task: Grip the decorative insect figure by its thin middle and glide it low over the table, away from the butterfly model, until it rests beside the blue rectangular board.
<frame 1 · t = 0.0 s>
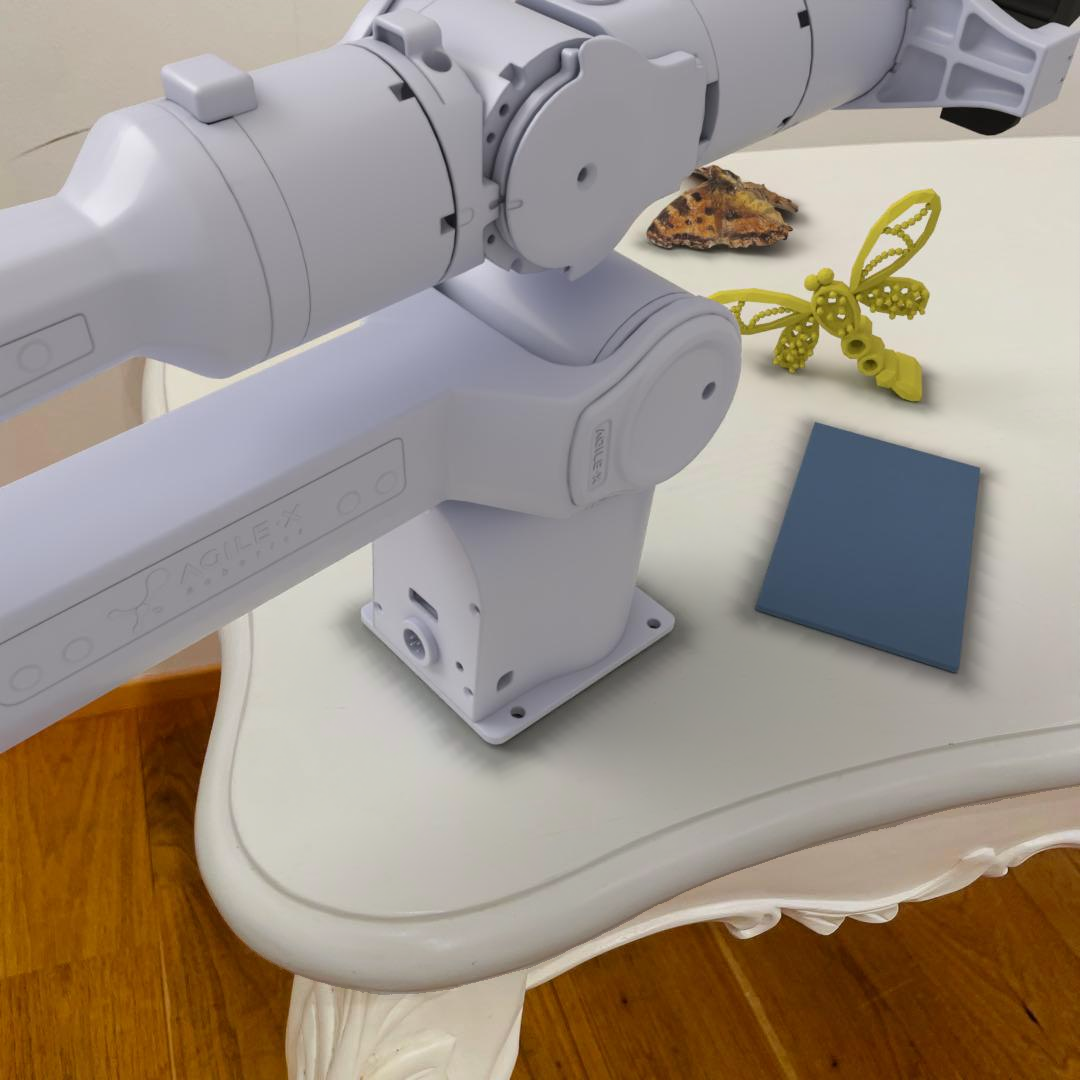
decorative insect: (801, 368, 59), on the table
butterfly model: (722, 221, 71), on the table
blue rectangular board: (876, 535, 48), on the table
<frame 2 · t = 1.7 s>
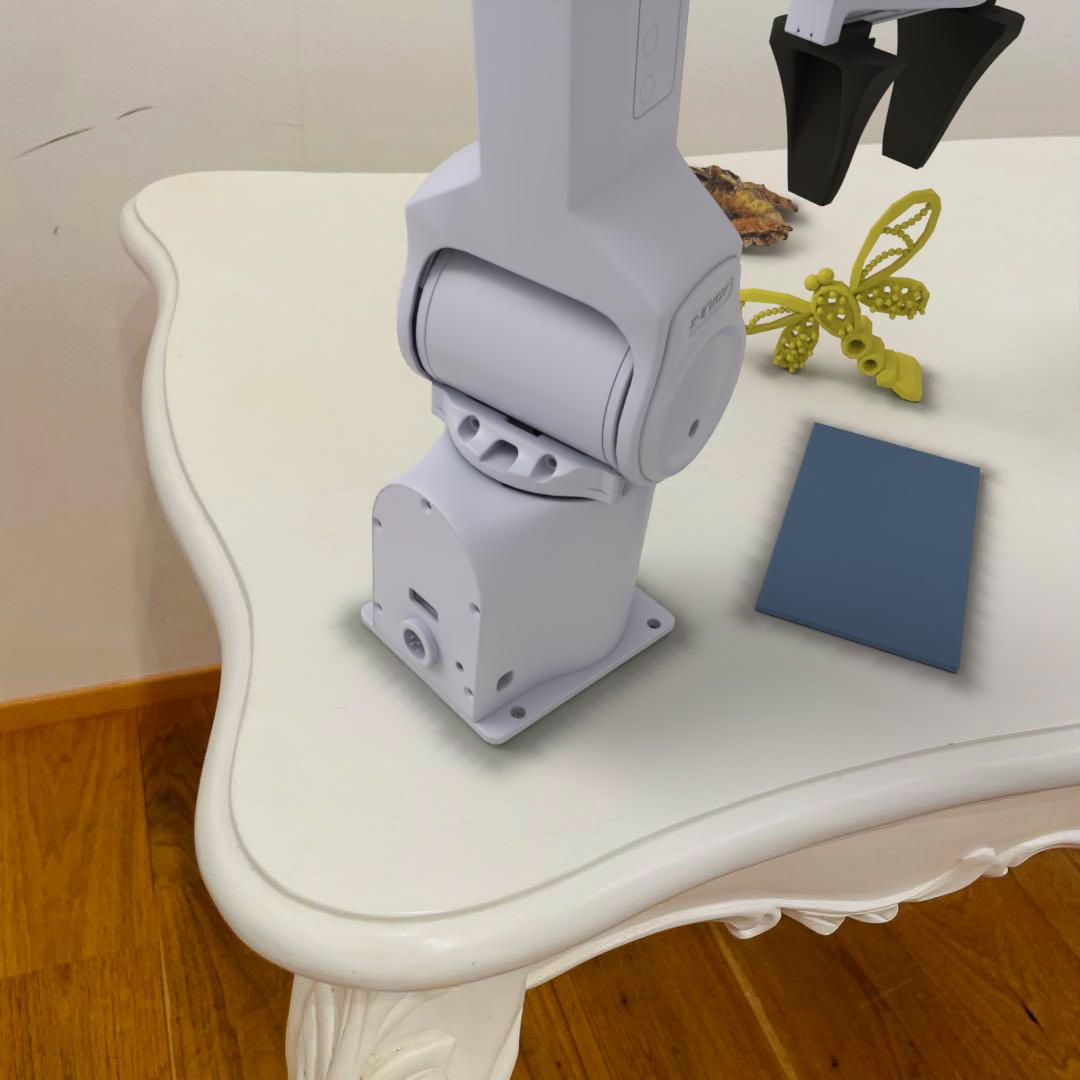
hand: (857, 178, 52), 10 cm above the table, tool pointing down, fingers open, 7 cm apart
nothing on the table moved.
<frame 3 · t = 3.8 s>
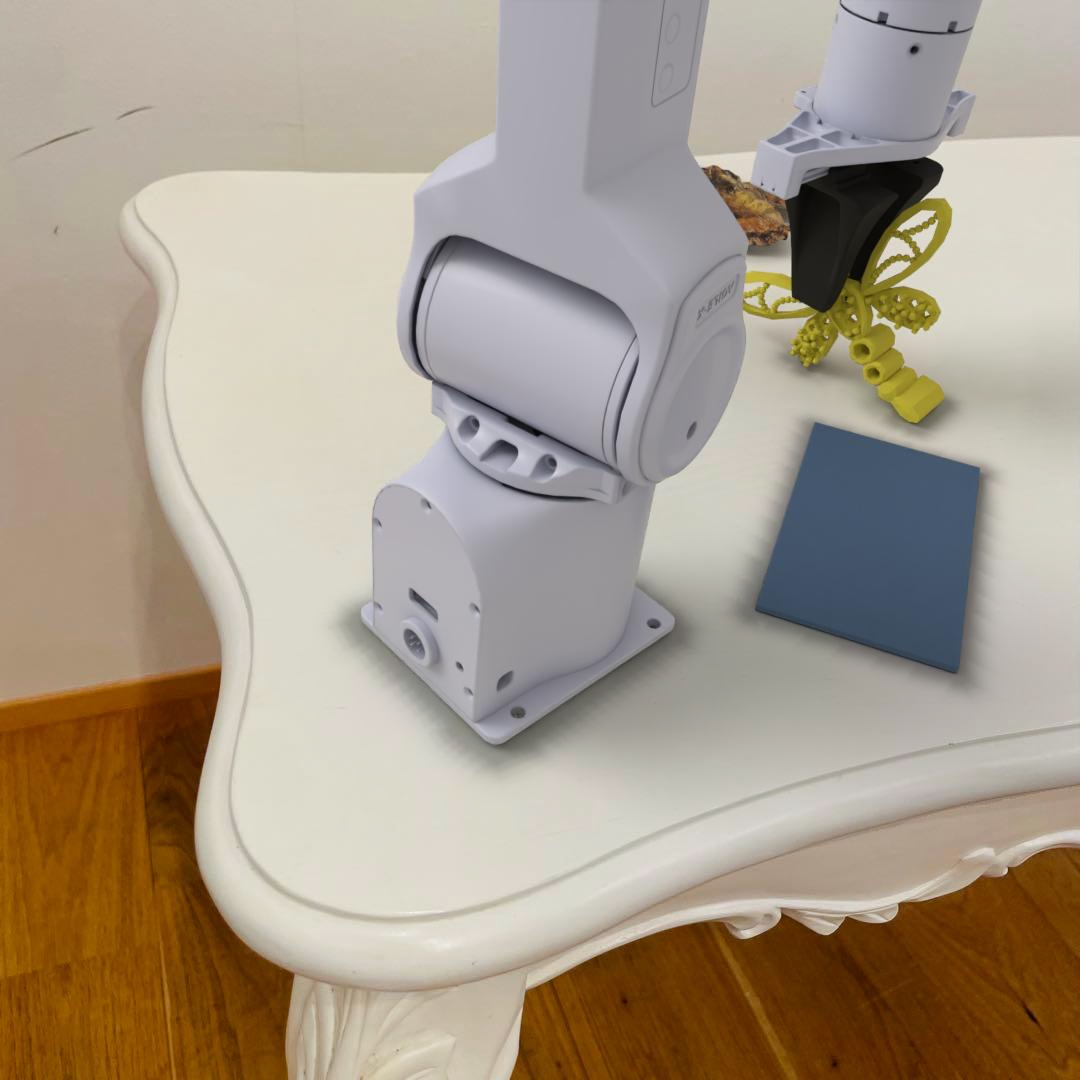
hand: (822, 297, 56), 4 cm above the table, tool pointing down, fingers closed on decorative insect
decorative insect: (823, 367, 59), on the table, touching gripper
everything else where it was.
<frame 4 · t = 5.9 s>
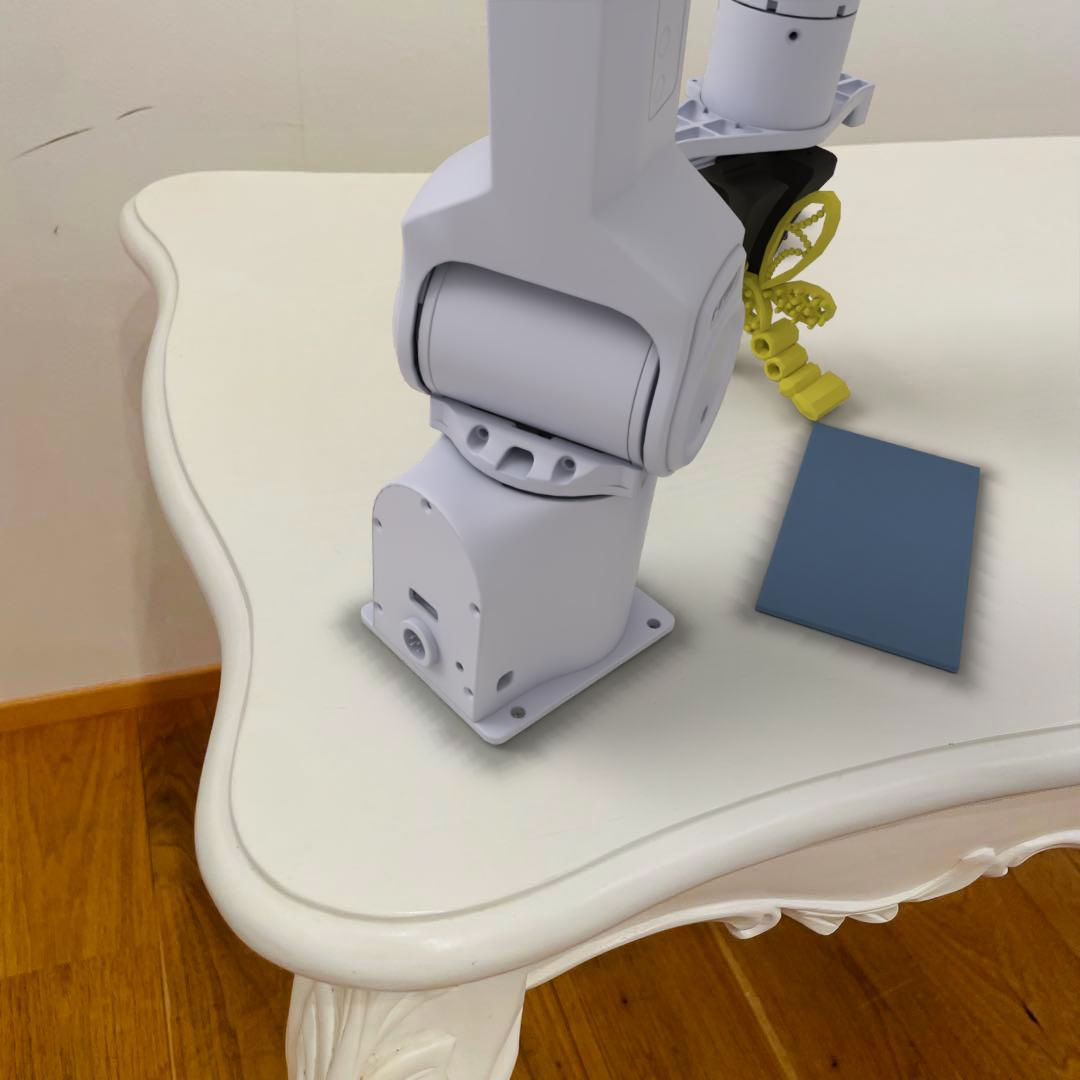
hand: (722, 291, 55), 4 cm above the table, tool pointing down, fingers closed on decorative insect
decorative insect: (731, 362, 58), on the table, touching gripper
everything else where it was.
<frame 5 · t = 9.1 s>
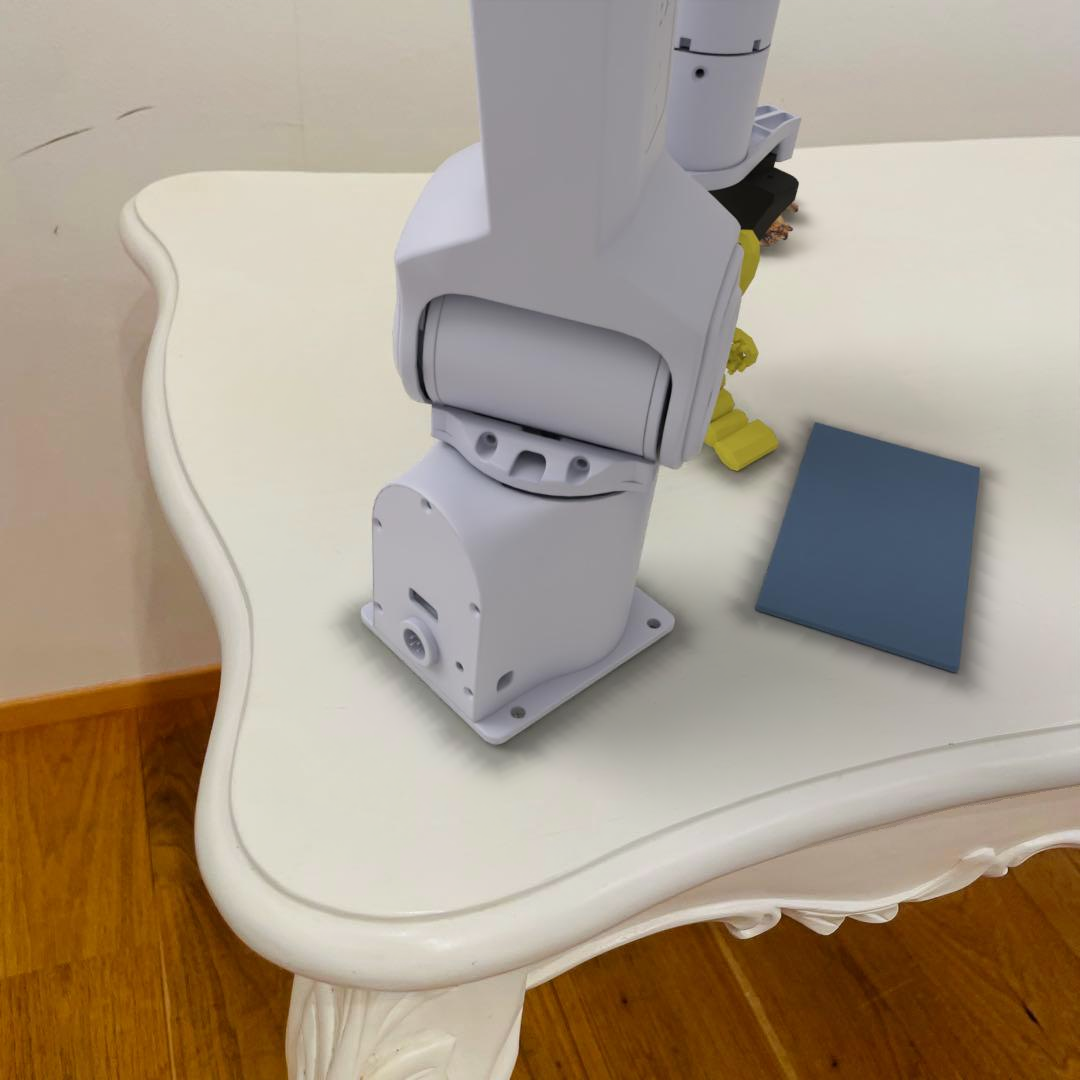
hand: (644, 333, 52), 4 cm above the table, tool pointing down, fingers open, 7 cm apart
decorative insect: (659, 405, 55), on the table
everything else where it was.
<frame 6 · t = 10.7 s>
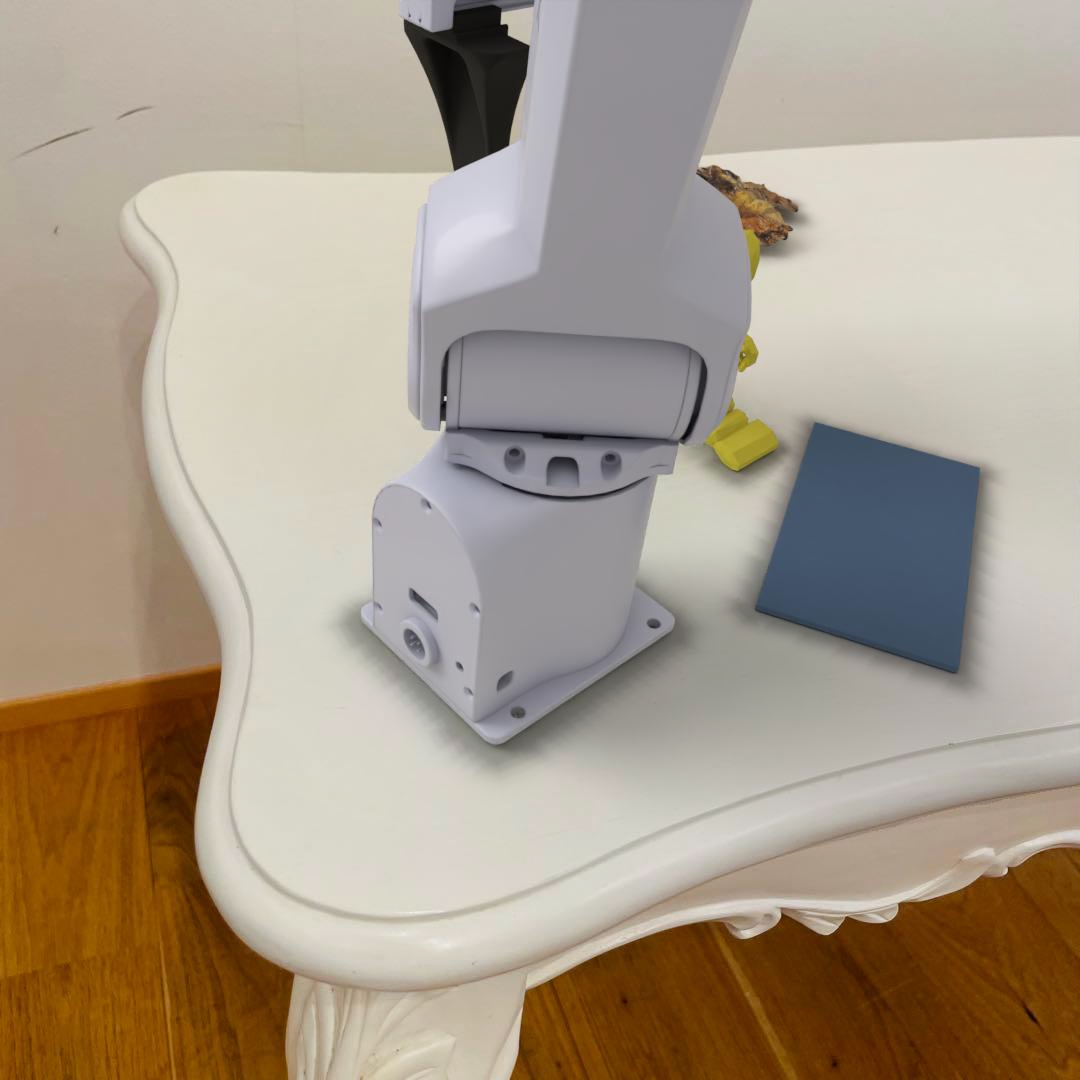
hand: (544, 176, 48), 10 cm above the table, tool pointing down, fingers open, 7 cm apart
nothing on the table moved.
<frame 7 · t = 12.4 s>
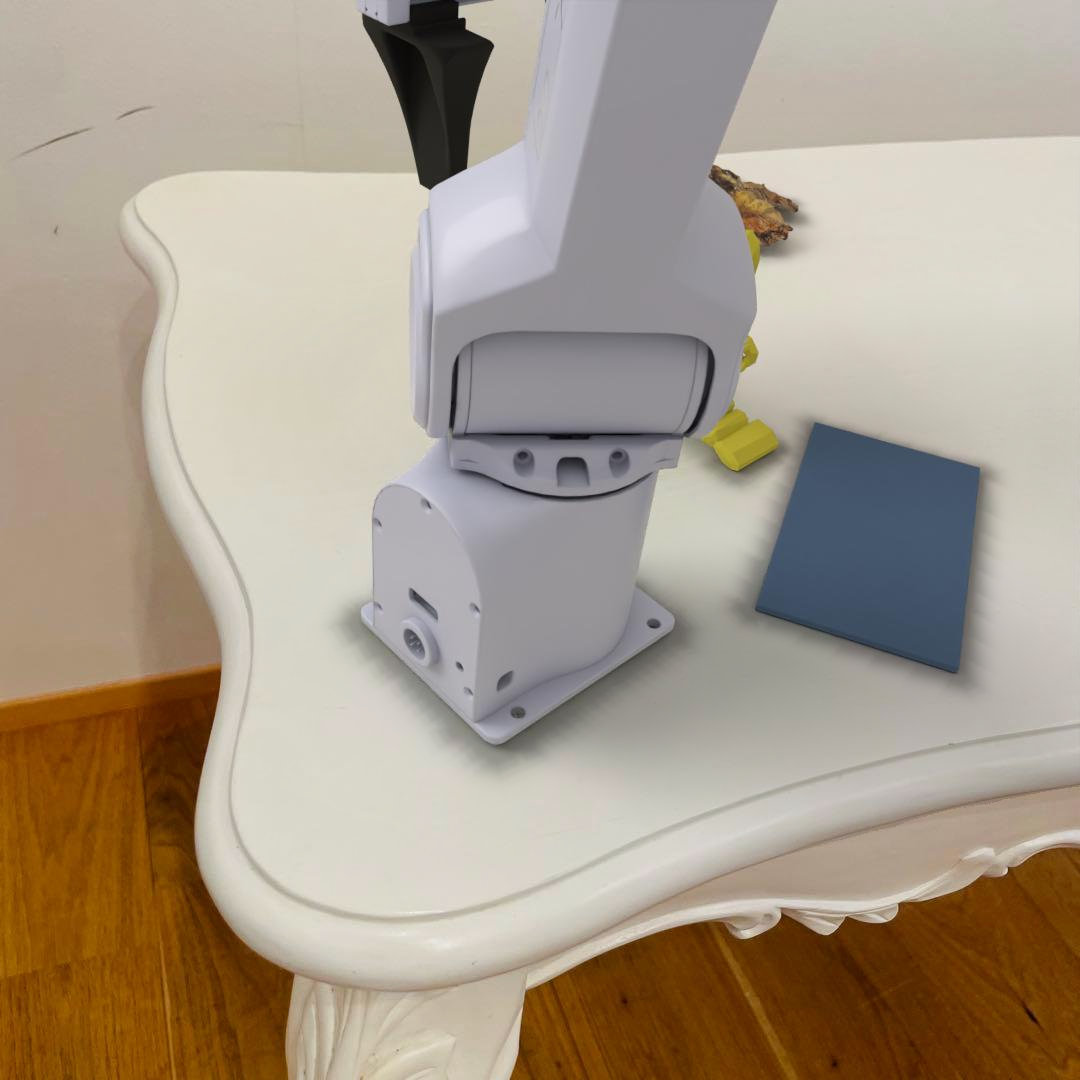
hand: (507, 170, 48), 10 cm above the table, tool pointing down, fingers open, 7 cm apart
nothing on the table moved.
at the end: decorative insect inside the target area on the table beside the blue rectangular board (1.2 cm from its centre), on the table; decorative insect moved 9.2 cm from its start; butterfly model moved 0.2 cm from its start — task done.
